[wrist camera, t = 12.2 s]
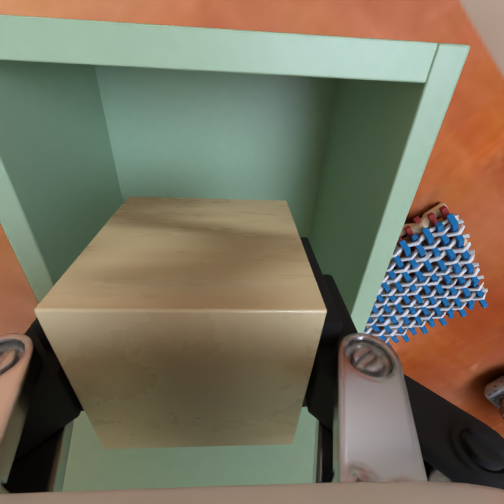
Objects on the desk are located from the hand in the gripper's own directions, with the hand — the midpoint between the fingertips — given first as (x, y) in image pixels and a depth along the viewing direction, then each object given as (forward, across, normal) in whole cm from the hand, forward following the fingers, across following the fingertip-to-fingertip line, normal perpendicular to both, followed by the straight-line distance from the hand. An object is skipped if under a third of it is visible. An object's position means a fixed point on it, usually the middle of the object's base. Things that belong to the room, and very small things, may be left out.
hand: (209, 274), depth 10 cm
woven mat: (+10, -14, +8) cm, 19 cm away
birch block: (+1, 0, 0) cm, 1 cm away
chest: (+10, 0, +1) cm, 10 cm away
